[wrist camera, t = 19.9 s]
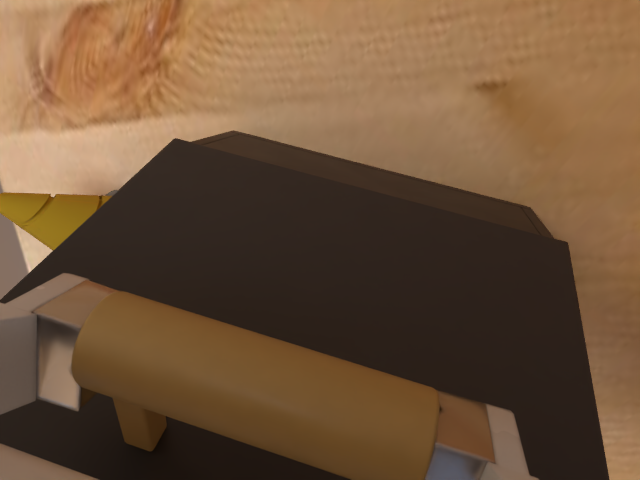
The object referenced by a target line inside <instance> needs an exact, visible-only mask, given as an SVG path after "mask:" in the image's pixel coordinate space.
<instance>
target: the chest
mask: <svg viewBox="0 0 640 480" xmlns="http://www.w3.org/2000/svg"><path fill="white" fill-rule="evenodd" d="M192 143H195V144H199V145H203V146H207V147H210V148H214V149H218V150H222V151H226V152H229V153H233V154H237V155H241V156H244V157H248V158H252V159H256V160H259V161H263V162H267V163H271V164H275V165H278V166H282V167H286V168H290V169H293V170H297V171H301V172H305V173H308V174H312V175H316V176H320V177H324V178H327V179H331V180H335V181H339V182H342V183H346V184H350V185H354V186H357V187H361V188H365V189H369V190H372V191H376V192H380V193H384V194H388V195H391V196H395V197H399V198H403V199H406V200H410V201H414V202H418V203H421V204H425V205H429V206H433V207H437V208H440V209H444V210H448V211H452V212H455V213H459V214H463V215H467V216H470V217H474V218H478V219H482V220H486V221H489V222H493V223H497V224H501V225H504V226H508V227H512V228H516V229H519V230H523V231H527V232H531V233H534V234H538V235H542V236H546V237H550V238H553V239H554V237H553V236H552V235H551V233H550V232H549V231H548V230H547V228H546V227H545V226H544V224H543V223H542V222H541V221H540V219H539V218H538V217H537V215H536V214H535V213H534V211H533V210H532V209H531V208H530V207H527V206H523V205H519V204H515V203H511V202H507V201H503V200H500V199H496V198H492V197H488V196H484V195H480V194H476V193H473V192H469V191H465V190H461V189H457V188H453V187H449V186H446V185H442V184H438V183H434V182H430V181H426V180H422V179H419V178H415V177H411V176H407V175H403V174H399V173H395V172H392V171H388V170H384V169H380V168H376V167H372V166H368V165H365V164H361V163H357V162H353V161H349V160H345V159H341V158H338V157H334V156H330V155H326V154H322V153H318V152H314V151H311V150H307V149H303V148H299V147H295V146H291V145H287V144H284V143H280V142H276V141H272V140H268V139H264V138H260V137H257V136H253V135H249V134H245V133H241V132H237V131H230V132H226V133H222V134H218V135H215V136H211V137H207V138H204V139H200V140H196V141H192Z"/></svg>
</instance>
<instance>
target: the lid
mask: <svg viewBox="0 0 640 480" xmlns="http://www.w3.org/2000/svg"><path fill="white" fill-rule="evenodd" d="M63 273H69V274H74V275H77V276H80V277H84V278H87V279H89V280H93V281H96V282H98V283H101V284H104V285H107V286H110V287H113V288H116V289H119V290H122V291H120V292H114V293H111V294H110V295H108V296H106V297H105V298H104V299H102V300H101V301H100V302H99V303H98V304H97V305H96V307H95V308H94V309H93V310H92V312H91V313H90V315H89V316H88V318H87V319H86V321H85V323H84V324H83V326H82V328H81V330H80V333H79V335H78V338H77V340H76V343H75V347H74V350H73V355H72V367H71V368H72V375H73V378H74V380H75V381H76V383H77V384H78V385H79V386H81V387H83V388H86V389H88V390H91V391H94V392H97V394H96V395H95V396H94V397H93V398H92V399H91V400H89V401H88V402H87V403H86V404H85V405H84V406H83V407H82V408H81V409H80V410H79V411H75V410H72V409H68V408H65V407H62V406H59V405H56V404H53V403H49V402H46V401H43V400H40V399H37V398H36V401H34V402H31V403H29V404H26V405H24V406H21V407H19V408H16V409H14V410H11V411H9V412H6V413H4V414H1V415H0V443H1V444H3V445H6V446H9V447H11V448H14V449H17V450H20V451H22V452H25V453H28V454H30V455H33V456H36V457H39V458H41V459H44V460H47V461H50V462H52V463H55V464H58V465H61V466H63V467H66V468H69V469H71V470H74V471H77V472H80V473H82V474H85V475H88V476H91V477H93V478H96V479H99V480H425V477H426V475H427V472H428V468H429V465H430V462H431V458H432V454H433V450H434V443H435V440H436V435H437V429H438V422H439V409H440V403H439V395H438V392H437V390H439V391H443V392H446V393H450V394H453V395H457V396H460V397H464V398H467V399H471V400H474V401H477V402H481V403H485V404H489V405H493V406H496V407H500V408H504V409H507V410H511V412H512V413H513V414H514V417H515V420H516V424H517V428H518V432H519V436H520V440H521V444H522V448H523V451H524V455H525V459H526V463H527V467H528V471H529V475H530V476H533V477H536V478H538V479H539V480H609V474H608V469H607V463H606V457H605V452H604V446H603V440H602V435H601V429H600V423H599V417H598V412H597V406H596V400H595V395H594V389H593V383H592V378H591V372H590V366H589V360H588V355H587V349H586V343H585V338H584V332H583V326H582V321H581V315H580V309H579V303H578V298H577V292H576V286H575V281H574V275H573V269H572V264H571V258H570V252H569V247H568V243H567V242H565V241H561V240H557V239H553V238H550V237H546V236H542V235H538V234H534V233H531V232H527V231H523V230H519V229H516V228H512V227H508V226H504V225H501V224H497V223H493V222H489V221H486V220H482V219H478V218H474V217H470V216H467V215H463V214H459V213H455V212H452V211H448V210H444V209H440V208H437V207H433V206H429V205H425V204H421V203H418V202H414V201H410V200H406V199H403V198H399V197H395V196H391V195H388V194H384V193H380V192H376V191H372V190H369V189H365V188H361V187H357V186H354V185H350V184H346V183H342V182H339V181H335V180H331V179H327V178H324V177H320V176H316V175H312V174H308V173H305V172H301V171H297V170H293V169H290V168H286V167H282V166H278V165H275V164H271V163H267V162H263V161H259V160H256V159H252V158H248V157H244V156H241V155H237V154H233V153H229V152H226V151H222V150H218V149H214V148H210V147H207V146H203V145H199V144H195V143H192V142H188V141H184V140H180V139H177V138H175V139H173V140H172V141H171V142H170V143H169V144H168V145H167V146H166V147H165V148H164V149H163V150H161V151H160V152H159V153H158V154H157V155H156V156H155V157H154V158H153V159H152V160H151V161H150V162H149V163H147V164H146V165H145V166H144V167H143V168H142V169H141V170H140V171H139V172H138V173H137V174H136V175H134V176H133V177H132V178H131V179H130V180H129V181H128V182H127V183H126V184H125V185H124V186H123V187H122V188H120V189H119V190H118V191H117V192H116V193H115V194H114V195H113V196H112V197H111V198H110V199H109V200H108V201H106V202H105V203H104V204H103V205H102V206H101V207H100V208H99V209H98V210H97V211H96V212H95V213H93V214H92V215H91V216H90V217H89V218H88V219H87V220H86V221H85V222H84V223H83V224H82V225H81V226H79V227H78V228H77V229H76V230H75V231H74V232H73V233H72V234H71V235H70V236H69V237H68V238H67V239H65V240H64V241H63V242H62V243H61V244H60V245H59V246H58V247H57V248H56V249H55V250H54V251H52V252H51V253H50V254H49V255H48V256H47V257H46V258H45V259H44V260H43V261H42V262H41V263H40V264H38V265H37V266H36V267H35V268H34V269H33V270H32V271H31V272H30V273H29V274H28V275H27V276H26V277H24V278H23V279H22V280H21V281H20V282H19V283H18V284H17V285H16V286H15V287H14V288H13V289H12V290H10V291H9V292H8V293H7V294H6V295H5V296H4V297H3V298H2V299H1V300H0V303H3V304H6V303H8V302H10V301H12V300H14V299H15V298H17V297H19V296H21V295H23V294H25V293H27V292H29V291H31V290H32V289H34V288H36V287H38V286H40V285H42V284H44V283H46V282H47V281H49V280H51V279H53V278H55V277H57V276H59V275H61V274H63ZM124 291H125V292H124ZM435 389H436V390H435Z"/></svg>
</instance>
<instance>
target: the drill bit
mask: <svg viewBox="0 0 640 480" xmlns="http://www.w3.org/2000/svg"><path fill="white" fill-rule="evenodd" d="M117 191H118V190H114V191H111V192H109V193H108V194H106V195H105V196H97V195H65V194H56V195H55V197H51V196H50V195H51V194H34V193H1V194H0V213H1V214H2V215H4V216H5V217H7V218H8V219H9V220H11V221H12V222H14V223H15V224H16V225H18V226H19V227H21V228H22V229H23V230H25V231H26V232H28V233H29V234H31V235H32V236H33V237H35V238H36V239H38V240H39V241H40V242H42V243H43V244H45V245H46V246H47V247H49V248H50V249H52V250H53V251H54V250H55V249H56V248H57V247H58V246H59V245H60V244H61V243H62V242H63V241H64V240H65V239H67V238H68V237H69V236H70V235H71V234H72V233H73V232H74V231H75V230H76V229H77V228H78V227H79V226H81V225H82V224H83V223H84V222H85V221H86V220H87V219H88V218H89V217H90V216H91V215H92V214H93V213H95V212H96V211H97V210H98V209H99V208H100V207H101V206H102V205H103V204H104V203H105V202H106V201H108V200H109V199H110V198H111V197H112V196H113V195H114V194H115V193H116V192H117Z"/></svg>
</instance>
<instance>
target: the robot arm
mask: <svg viewBox="0 0 640 480" xmlns="http://www.w3.org/2000/svg"><path fill="white" fill-rule="evenodd" d="M120 291H122V290H119V289H116V288H113V287H110V286H107V285H104V284H101V283H98V282H96V281H93V280H89V279H87V278H84V277H80V276H77V275H74V274H69V273H63V274H61V275H59V276H57V277H55V278H53V279H51V280H49V281H47V282H46V283H44V284H42V285H40V286H38V287H36V288H34V289H32V290H31V291H29V292H27V293H25V294H23V295H21V296H19V297H17V298H15V299H14V300H12V301H10V302H8V303H6V304H3V303H0V415H1V414H4V413H6V412H9V411H11V410H14V409H16V408H19V407H21V406H24V405H26V404H29V403H31V402H34V401H36V398H37V399H40V400H43V401H46V402H49V403H53V404H56V405H59V406H62V407H65V408H68V409H72V410H75V411H79V410H80V409H81V408H82V407H83V406H84V405H85V404H86V403H87V402H88V401H89V400H91V399H92V398H93V397H94V396H95V395H96V394H97V392H94V391H91V390H88V389H86V388H83V387H81V386H79V385H78V384H77V383H76V381H75V380H74V378H73V375H72V368H71V367H72V355H73V350H74V347H75V343H76V340H77V338H78V335H79V333H80V330H81V328H82V326H83V324H84V323H85V321H86V319H87V318H88V316H89V315H90V313H91V312H92V310H93V309H94V308H95V307H96V305H97V304H98V303H99V302H100V301H101V300H102V299H104V298H105V297H106V296H108V295H110V294H111V293H114V292H120ZM124 292H125V291H124ZM435 390H436V389H435ZM437 392H438V395H439V403H440V409H439V422H438V429H437V435H436V440H435V443H434V450H433V454H432V458H431V462H430V465H429V468H428V472H427V475H426V477H425V480H539V479H538V478H536V477H533V476H530V475H529V471H528V467H527V463H526V459H525V455H524V451H523V448H522V444H521V440H520V436H519V432H518V428H517V424H516V420H515V417H514V414H513V413H512V412H511V410H507V409H504V408H500V407H496V406H493V405H489V404H485V403H481V402H477V401H474V400H471V399H467V398H464V397H460V396H457V395H453V394H450V393H446V392H443V391H439V390H437ZM0 480H99V479H96V478H93V477H91V476H88V475H85V474H82V473H80V472H77V471H74V470H71V469H69V468H66V467H63V466H61V465H58V464H55V463H52V462H50V461H47V460H44V459H41V458H39V457H36V456H33V455H30V454H28V453H25V452H22V451H20V450H17V449H14V448H11V447H9V446H6V445H3V444H1V443H0Z"/></svg>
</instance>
